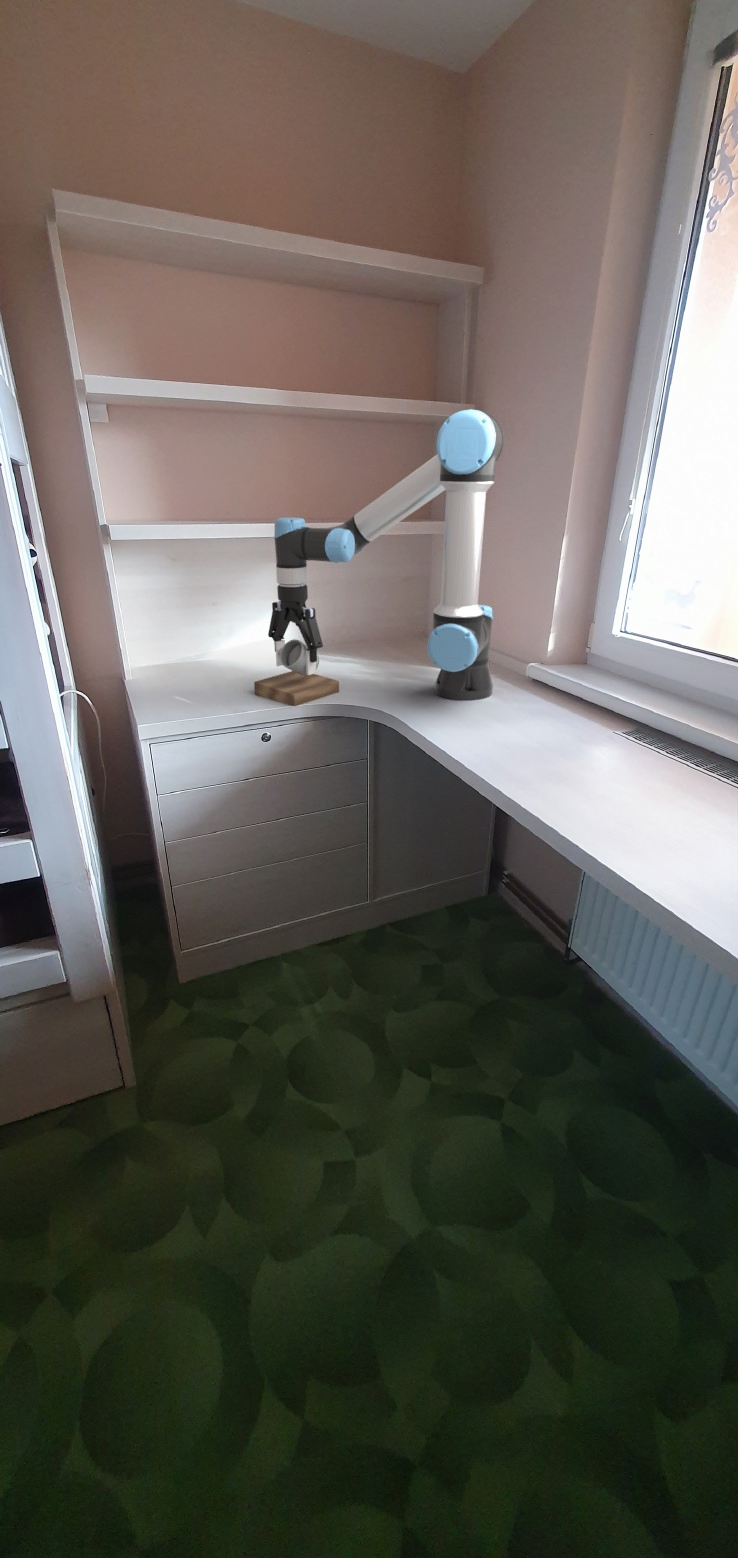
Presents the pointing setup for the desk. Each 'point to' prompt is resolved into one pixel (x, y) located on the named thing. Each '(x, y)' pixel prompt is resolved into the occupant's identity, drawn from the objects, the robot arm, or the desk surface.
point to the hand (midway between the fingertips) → (296, 669)
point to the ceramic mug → (295, 656)
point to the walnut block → (295, 688)
